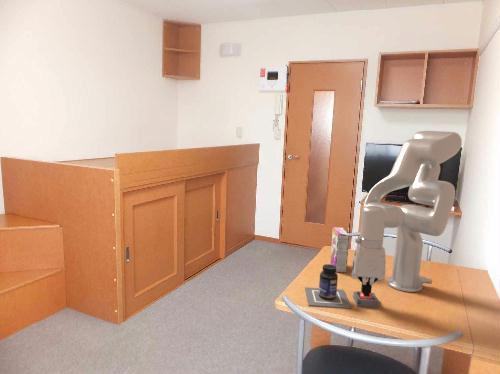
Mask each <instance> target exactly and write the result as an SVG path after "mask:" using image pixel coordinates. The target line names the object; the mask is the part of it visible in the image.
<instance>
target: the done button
mask: <svg viewBox="0 0 500 374" xmlns="http://www.w3.org/2000/svg"><path fill="white" fill-rule="evenodd" d="M360 299H371V300H372V294H369V296H364V294H363V293H362V292H361V293H360Z"/></svg>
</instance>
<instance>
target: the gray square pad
mask: <svg viewBox="0 0 500 374" xmlns="http://www.w3.org/2000/svg"><path fill="white" fill-rule="evenodd" d="M304 290H305V295H306V300H307V305H308V307H317V308H321V307H322V308H336V309H348V310H349V309H352V307H351V304H350V302H349V300H348V297H347V294H346V293H345V290H344V289H341V288H340V289H338V288H337V292H336V298H335V299H333V300H326V299H322V298H321V297H320V296H319V287H307V286H305V287H304Z"/></svg>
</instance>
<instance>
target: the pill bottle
mask: <svg viewBox="0 0 500 374" xmlns="http://www.w3.org/2000/svg"><path fill="white" fill-rule="evenodd" d="M338 277H339V276H338V274H337V272H336V266H334V265H331V263H330V264H329V263H328V264H323V265H322V271H321V272H320V273H319V281H318V282H319V283H318V288H319V296H320V297H321V298H322V299H326V300H333V299H335V298H336V292H337V289H338Z"/></svg>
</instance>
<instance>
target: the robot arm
mask: <svg viewBox="0 0 500 374" xmlns="http://www.w3.org/2000/svg"><path fill="white" fill-rule="evenodd" d="M461 147H462V137H461V135H460V134H459V133H458V132H455V131H443V130H442V131H440V130H439V131H437V130H422V131H421V130H420V131H417V132H415V133H414V134H413V136H412V138H409V139H408V140H407V139H406V140H405V141H404V142H403V143H402V146H401V148H400V150H399V152H398V154H397V157H396V159H395V162H394V163H393V166H392V168H391V170H390V173H389V174H388V175H387V176H386V177H384V178H382V179H381V180H379V182H377V183H376V184H374V186H373V187H371V189H370V190H369V192H368V193H367V196H366V198H365V199H364V203H363V206H362V208H361V220H360V229H359V230H360V231H359V232H360V233H359V236H358V238H355V239H354V243H357V245H356V247H355V252H354V256H353V259H352V260H353V261H352V269H351V270H352V272H351V277H352V278H354V279H357V280H359V282H361V288H360V291H361V292H362V293H363V294H364V296H369V294H370V293H372V289H373V287H372V286H374V284H375V283H376V282H377V281H382V280H384V279H385V275H386V263H387V261H386V248H384V247H383V244H384V234H385V229H386V228H389V229H395V228H396V234H395V235H396V236H395V237H396V239H395V246H394V247H395V248H394V256H393V257H394V259H393V266H392V267H393V268H392V276H389V277H388V278H387V284H388V285H389V286H390V287H391V288H394V289H395V290H398V291H402V292H408V293H415V292H420V291H422V290H423V285H424V284H428V285H429V284H430V285H431V284H433V279H432V278H427V277H426V276H424V275H423V276H421V275H420V274H421V266H422V265H421V263H422V256H423V249H424V241H423V238H422V235H421V234H423V235H427V236H432V237H440V236H441V235H442V234H443V233H444V232H445V230H446V228H447V225H448V222H449V219H450V215H451V213H452V209H453V206H454V203H455V199H456V190H455V189H456V188H455V186H454V184H452V182H449V181H445V180H439V177H440V174H441V164H443V163H444V162H446V161H448V160H449V159H451V158H452V157H454V156H455V155H457V154H458V152H459V151H460V150H461ZM408 187H409V188H408ZM404 188H408V192H407V196H408V199H409V200H410V201H412V202H413V203H417V204H421V205H428V206H431V207H432V206H433V208H431V207H430V208H429V207H426V206H420V205H416V204H415V205H414V204H403V205H401V206H397V205H394V204H388V203H383V202H381V200H382V198H383V197H384V196H386V195H387V194H390V193H391V192H393V191H397V190H401V189H404Z"/></svg>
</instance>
